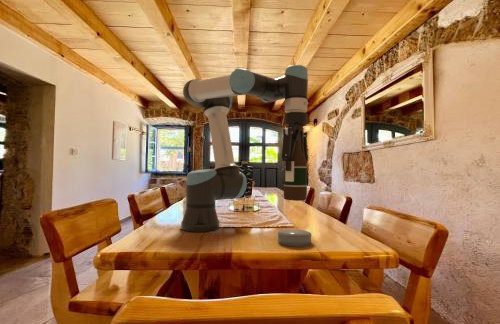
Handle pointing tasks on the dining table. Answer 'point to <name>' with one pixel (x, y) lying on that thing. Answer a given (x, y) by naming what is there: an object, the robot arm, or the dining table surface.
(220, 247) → the dining table surface
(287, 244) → the slate pedestal
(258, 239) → the dining table surface
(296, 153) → the beer bottle
